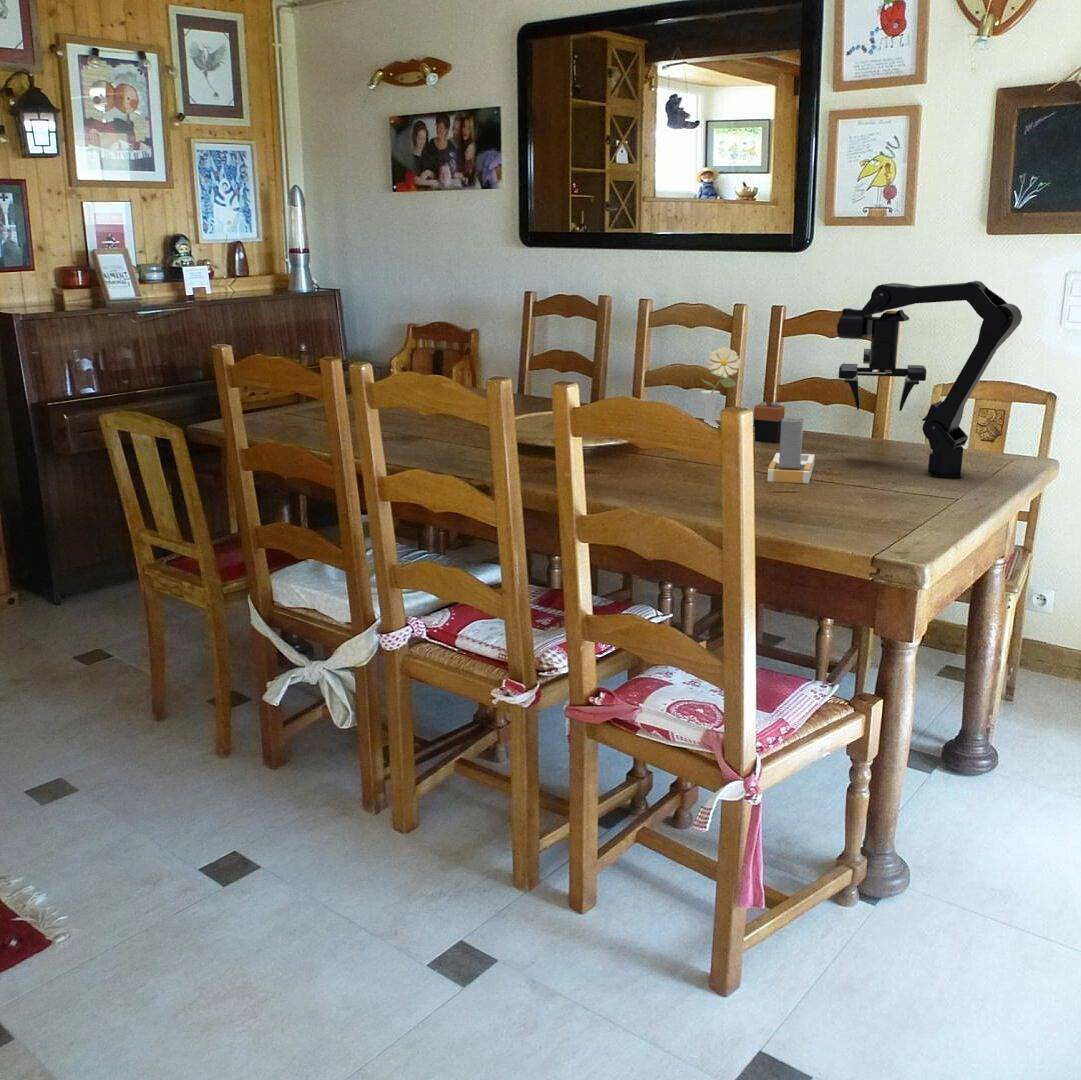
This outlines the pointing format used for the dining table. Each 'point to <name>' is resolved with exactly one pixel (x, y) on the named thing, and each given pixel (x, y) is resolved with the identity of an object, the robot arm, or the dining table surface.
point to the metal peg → (791, 444)
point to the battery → (768, 422)
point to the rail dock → (791, 475)
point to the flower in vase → (723, 366)
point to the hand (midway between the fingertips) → (879, 410)
